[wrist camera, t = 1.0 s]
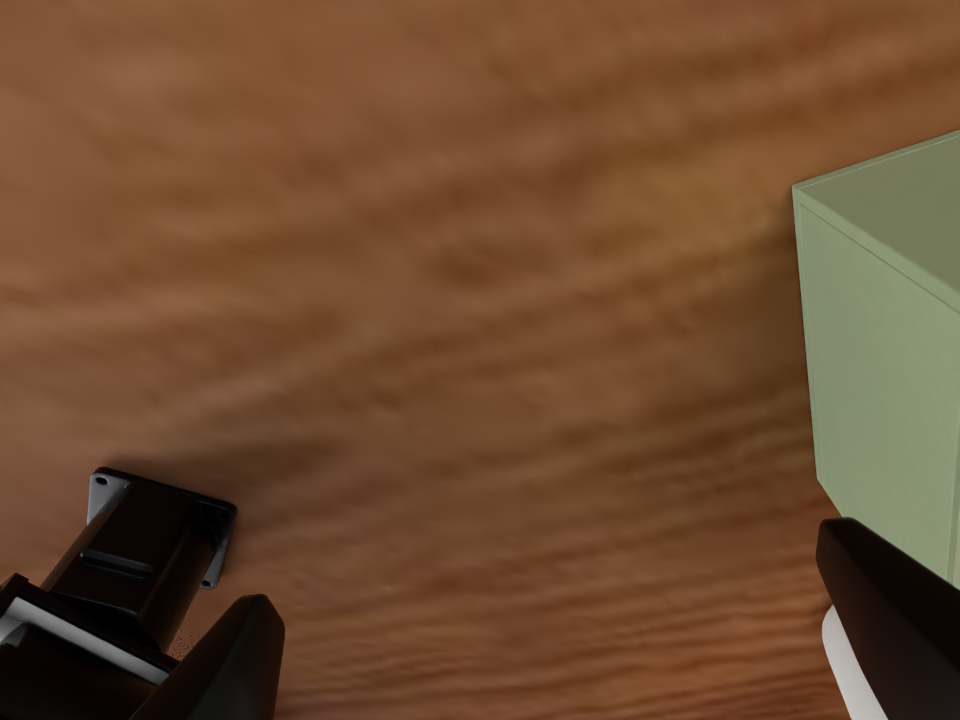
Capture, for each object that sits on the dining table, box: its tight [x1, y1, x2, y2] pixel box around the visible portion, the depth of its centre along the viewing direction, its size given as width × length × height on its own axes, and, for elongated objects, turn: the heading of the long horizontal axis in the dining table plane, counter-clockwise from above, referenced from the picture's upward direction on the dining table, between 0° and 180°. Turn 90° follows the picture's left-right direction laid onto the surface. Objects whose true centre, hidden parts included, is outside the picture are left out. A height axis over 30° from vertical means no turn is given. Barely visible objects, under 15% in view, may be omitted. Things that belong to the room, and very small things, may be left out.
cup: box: [822, 605, 888, 720], centre depth 28 cm, size 11×8×8 cm
